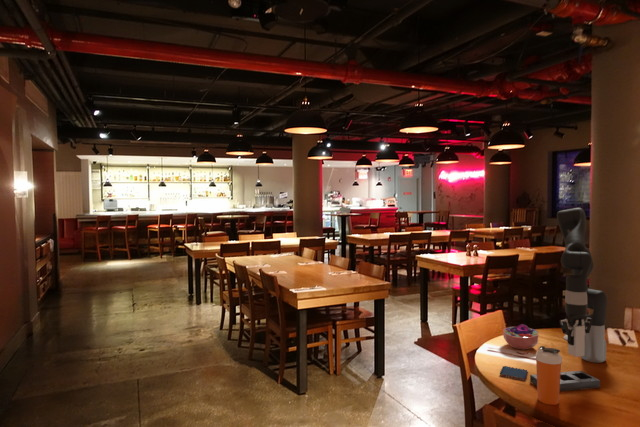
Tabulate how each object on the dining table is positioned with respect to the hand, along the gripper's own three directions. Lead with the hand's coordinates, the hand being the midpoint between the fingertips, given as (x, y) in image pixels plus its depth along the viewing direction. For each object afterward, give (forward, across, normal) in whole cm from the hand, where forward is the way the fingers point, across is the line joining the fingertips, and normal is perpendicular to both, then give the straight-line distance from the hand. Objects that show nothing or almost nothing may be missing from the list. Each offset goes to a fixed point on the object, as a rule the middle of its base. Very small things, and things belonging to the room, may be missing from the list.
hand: (576, 344), depth 172 cm
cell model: (+19, -10, -48) cm, 52 cm away
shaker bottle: (+18, +17, +6) cm, 26 cm away
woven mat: (+19, +15, -18) cm, 30 cm away
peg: (+4, 0, 0) cm, 4 cm away
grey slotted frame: (+19, +1, -5) cm, 19 cm away
